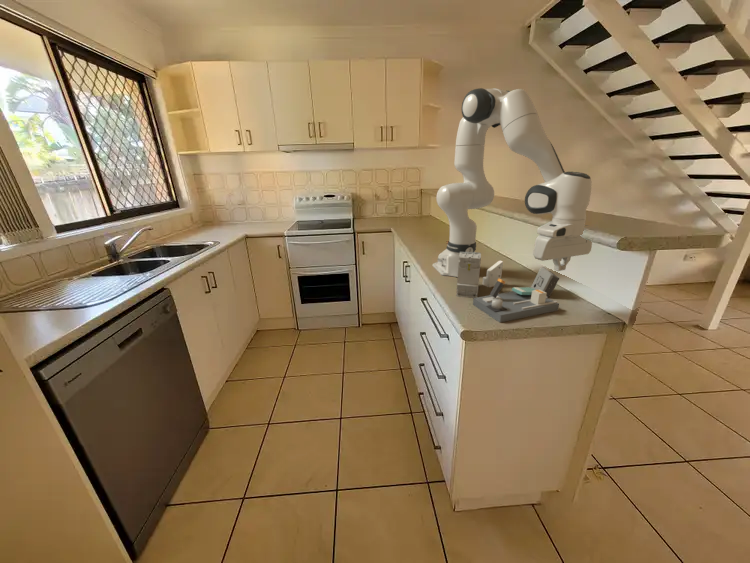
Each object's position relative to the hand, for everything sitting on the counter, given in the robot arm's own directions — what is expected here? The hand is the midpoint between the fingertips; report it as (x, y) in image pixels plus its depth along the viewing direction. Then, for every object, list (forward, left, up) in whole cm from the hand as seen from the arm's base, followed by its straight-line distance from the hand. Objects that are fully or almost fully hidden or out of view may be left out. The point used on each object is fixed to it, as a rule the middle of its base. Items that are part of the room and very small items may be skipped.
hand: (559, 270), depth 100 cm
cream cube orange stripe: (0, -7, -11) cm, 12 cm away
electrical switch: (-11, +6, -13) cm, 18 cm away
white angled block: (-25, -6, -13) cm, 29 cm away
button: (-2, -22, -10) cm, 24 cm away
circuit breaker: (-24, -18, -13) cm, 32 cm away
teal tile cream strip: (-7, -5, -9) cm, 13 cm away
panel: (-4, -12, -13) cm, 18 cm away
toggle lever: (-8, -19, -9) cm, 22 cm away
